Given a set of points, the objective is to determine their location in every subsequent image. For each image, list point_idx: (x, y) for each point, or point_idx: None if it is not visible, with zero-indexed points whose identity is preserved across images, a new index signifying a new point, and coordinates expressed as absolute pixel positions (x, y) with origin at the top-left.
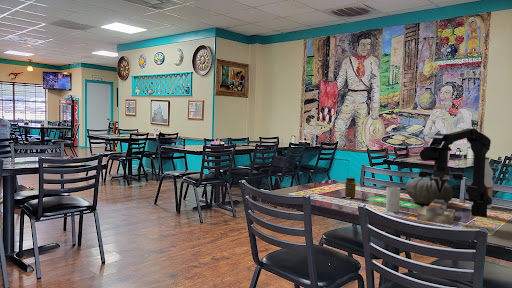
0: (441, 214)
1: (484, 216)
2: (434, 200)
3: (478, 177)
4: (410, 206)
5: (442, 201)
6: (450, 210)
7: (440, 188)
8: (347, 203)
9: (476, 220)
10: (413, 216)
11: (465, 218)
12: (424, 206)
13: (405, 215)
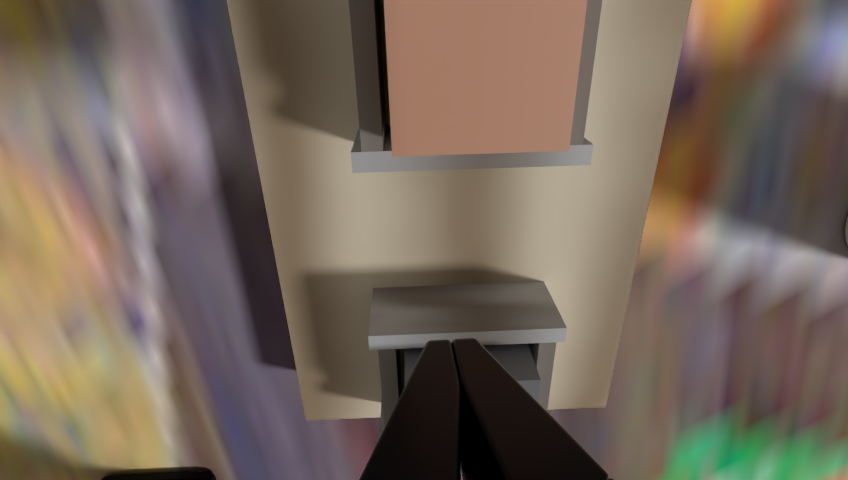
0: None
1: (115, 478)
2: None
3: None
4: (700, 471)
5: None
6: (339, 372)
7: (449, 424)
8: None
9: (114, 330)
10: (699, 71)
11: (216, 343)
12: (607, 386)
13: (794, 57)
